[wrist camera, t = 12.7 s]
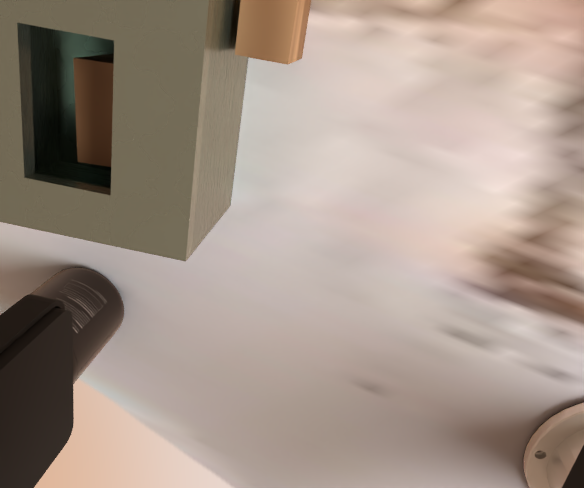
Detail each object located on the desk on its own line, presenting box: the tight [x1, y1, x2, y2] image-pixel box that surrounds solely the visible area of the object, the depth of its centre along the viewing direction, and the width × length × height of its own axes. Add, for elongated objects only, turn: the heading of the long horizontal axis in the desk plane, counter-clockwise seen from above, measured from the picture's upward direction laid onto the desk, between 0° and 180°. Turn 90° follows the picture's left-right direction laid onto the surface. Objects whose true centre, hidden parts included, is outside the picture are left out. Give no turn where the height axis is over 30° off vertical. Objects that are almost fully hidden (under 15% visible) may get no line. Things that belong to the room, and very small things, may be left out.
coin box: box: [0, 0, 248, 261], centre depth 32 cm, size 14×14×10 cm
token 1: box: [73, 54, 114, 167], centre depth 33 cm, size 3×6×6 cm, turn 173°
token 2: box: [235, 0, 311, 64], centre depth 30 cm, size 3×6×6 cm, turn 171°
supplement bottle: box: [31, 268, 124, 384], centre depth 38 cm, size 7×7×12 cm
